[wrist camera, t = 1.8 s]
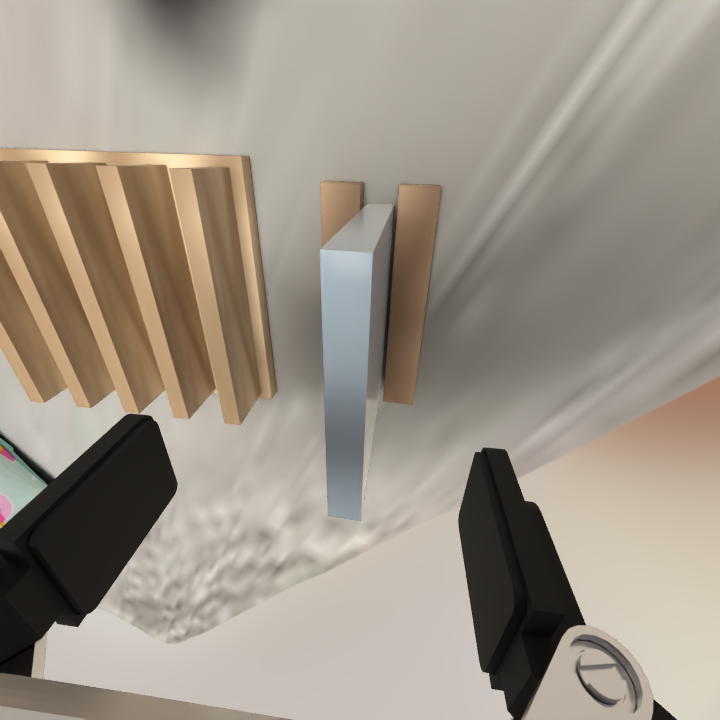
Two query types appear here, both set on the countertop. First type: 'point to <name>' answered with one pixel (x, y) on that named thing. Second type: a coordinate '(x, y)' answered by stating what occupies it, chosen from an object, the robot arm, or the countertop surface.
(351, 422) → the plate
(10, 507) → the lunch box
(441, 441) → the countertop surface
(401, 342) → the wooden slats
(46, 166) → the dish rack
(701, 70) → the countertop surface
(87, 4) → the countertop surface
